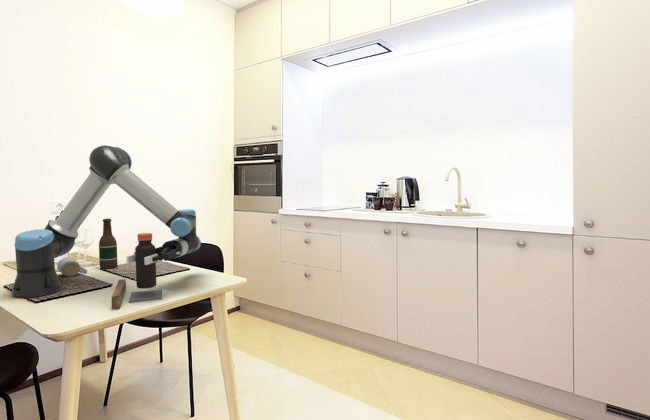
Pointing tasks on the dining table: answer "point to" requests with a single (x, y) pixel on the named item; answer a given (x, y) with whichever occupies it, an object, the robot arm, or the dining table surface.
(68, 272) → the ceramic mug
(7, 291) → the dining table surface
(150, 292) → the pad
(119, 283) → the door rail
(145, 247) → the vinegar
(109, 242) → the beer bottle
